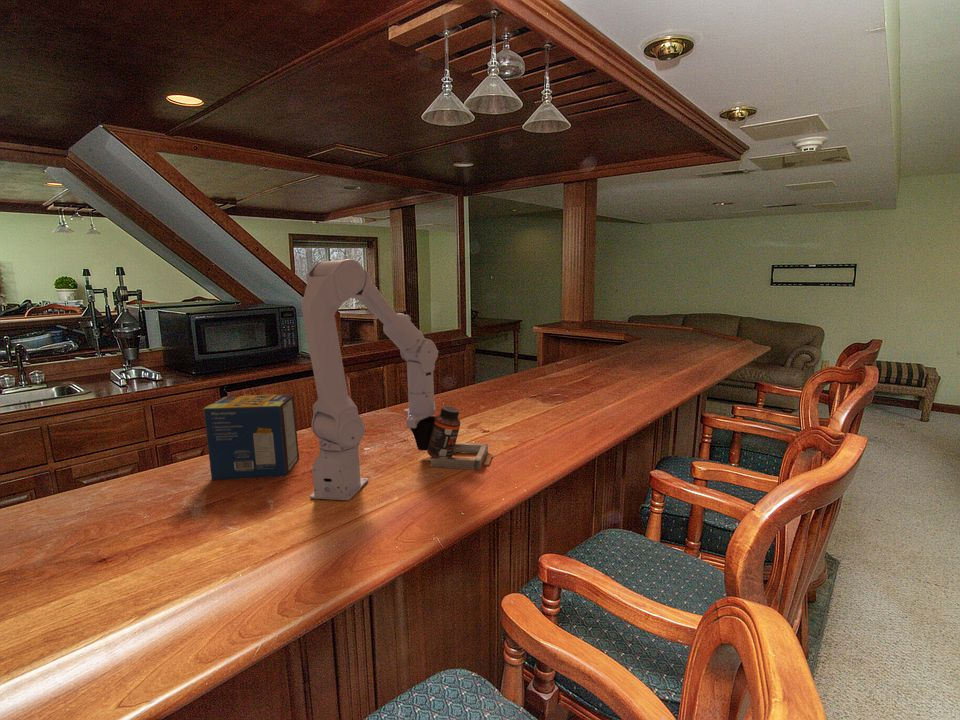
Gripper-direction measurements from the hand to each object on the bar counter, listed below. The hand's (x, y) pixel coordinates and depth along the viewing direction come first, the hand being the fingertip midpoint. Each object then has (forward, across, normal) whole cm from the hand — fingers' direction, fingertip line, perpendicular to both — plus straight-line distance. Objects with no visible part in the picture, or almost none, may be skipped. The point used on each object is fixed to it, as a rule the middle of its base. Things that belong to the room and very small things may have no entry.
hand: (423, 449), depth 113 cm
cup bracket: (+2, 0, +9) cm, 9 cm away
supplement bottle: (+1, 0, +4) cm, 4 cm away
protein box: (+2, +12, -34) cm, 36 cm away
